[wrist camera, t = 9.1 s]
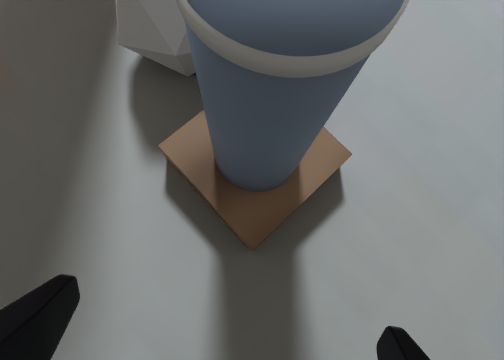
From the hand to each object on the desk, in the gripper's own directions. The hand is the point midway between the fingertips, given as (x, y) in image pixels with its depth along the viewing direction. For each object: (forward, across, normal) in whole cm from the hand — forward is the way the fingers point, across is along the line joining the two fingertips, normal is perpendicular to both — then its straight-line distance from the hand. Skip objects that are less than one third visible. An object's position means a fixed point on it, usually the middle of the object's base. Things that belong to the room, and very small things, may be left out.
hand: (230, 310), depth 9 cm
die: (+21, +7, -4) cm, 22 cm away
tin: (+12, 0, 0) cm, 12 cm away
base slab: (+14, 0, +2) cm, 14 cm away
